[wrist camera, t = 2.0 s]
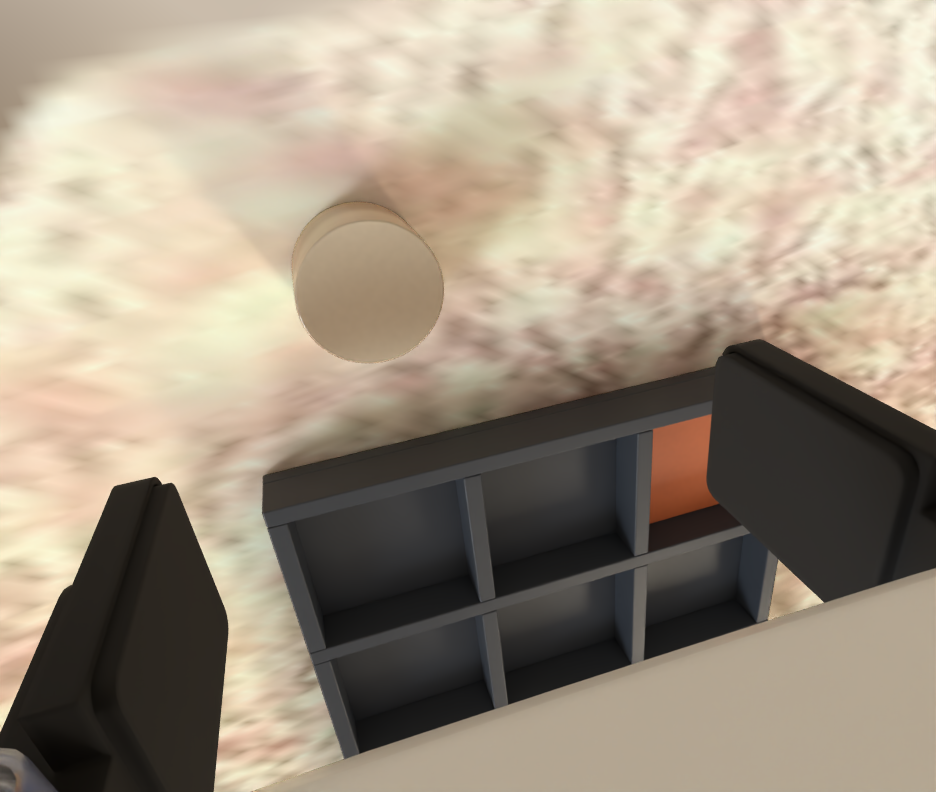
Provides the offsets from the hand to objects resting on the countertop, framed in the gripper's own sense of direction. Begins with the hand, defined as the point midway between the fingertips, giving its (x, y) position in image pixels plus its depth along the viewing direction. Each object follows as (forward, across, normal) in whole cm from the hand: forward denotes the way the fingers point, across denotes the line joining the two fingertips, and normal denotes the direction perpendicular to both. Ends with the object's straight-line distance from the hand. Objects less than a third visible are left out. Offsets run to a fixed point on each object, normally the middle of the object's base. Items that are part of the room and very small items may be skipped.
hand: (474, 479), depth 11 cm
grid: (+13, -6, +17) cm, 22 cm away
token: (+12, 0, -1) cm, 12 cm away
